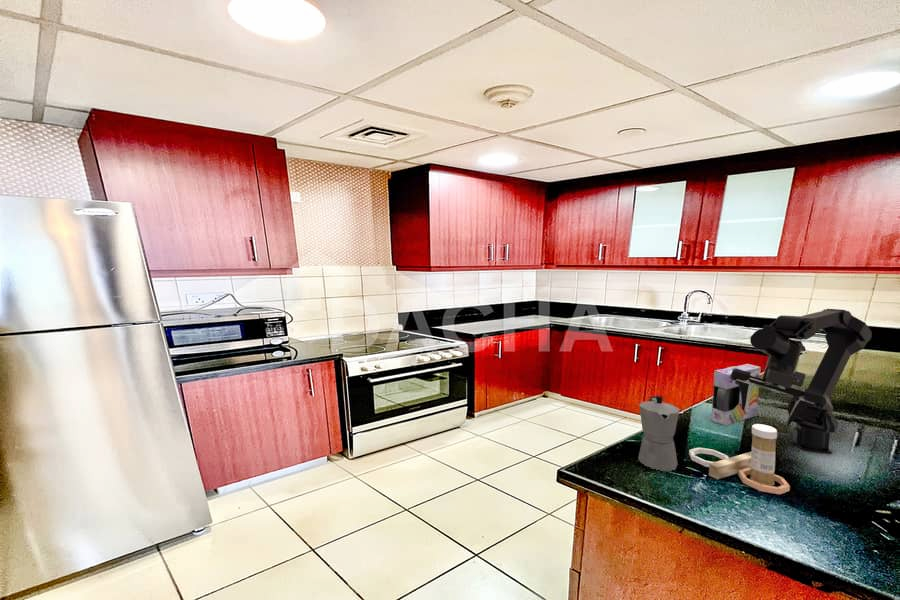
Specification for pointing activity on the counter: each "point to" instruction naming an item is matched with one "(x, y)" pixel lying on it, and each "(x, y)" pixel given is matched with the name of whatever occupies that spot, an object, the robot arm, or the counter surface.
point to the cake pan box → (733, 396)
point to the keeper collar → (764, 488)
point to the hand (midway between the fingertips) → (764, 417)
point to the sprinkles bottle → (763, 454)
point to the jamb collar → (705, 451)
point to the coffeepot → (658, 434)
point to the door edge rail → (729, 466)
